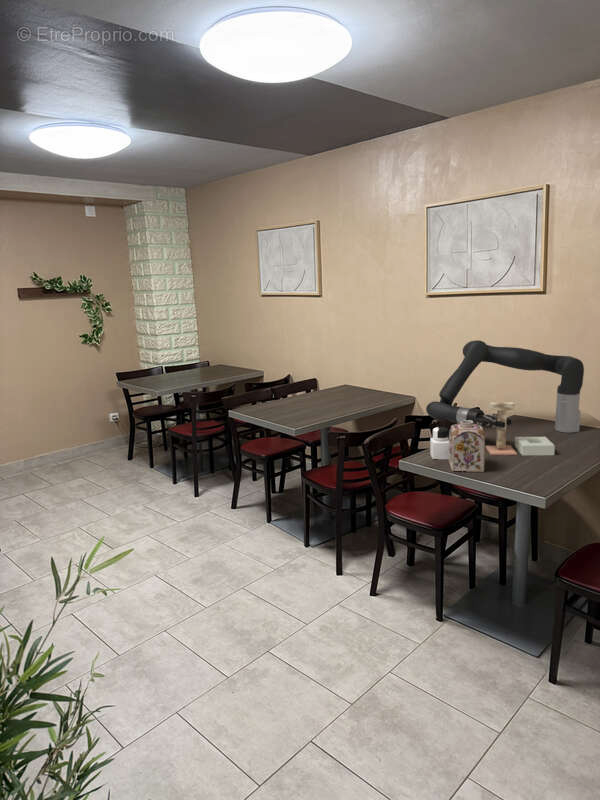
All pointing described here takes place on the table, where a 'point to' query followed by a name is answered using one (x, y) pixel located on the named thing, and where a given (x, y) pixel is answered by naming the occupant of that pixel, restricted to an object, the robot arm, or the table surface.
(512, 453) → the mat
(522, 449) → the socket block
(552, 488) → the table surface
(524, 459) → the table surface
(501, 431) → the t key
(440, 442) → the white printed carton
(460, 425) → the decorative jar
